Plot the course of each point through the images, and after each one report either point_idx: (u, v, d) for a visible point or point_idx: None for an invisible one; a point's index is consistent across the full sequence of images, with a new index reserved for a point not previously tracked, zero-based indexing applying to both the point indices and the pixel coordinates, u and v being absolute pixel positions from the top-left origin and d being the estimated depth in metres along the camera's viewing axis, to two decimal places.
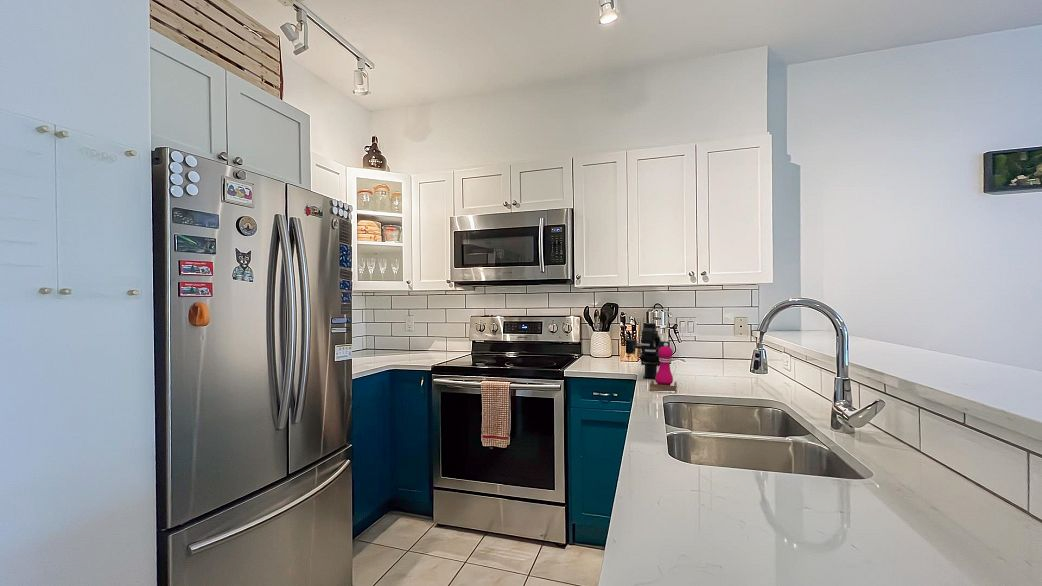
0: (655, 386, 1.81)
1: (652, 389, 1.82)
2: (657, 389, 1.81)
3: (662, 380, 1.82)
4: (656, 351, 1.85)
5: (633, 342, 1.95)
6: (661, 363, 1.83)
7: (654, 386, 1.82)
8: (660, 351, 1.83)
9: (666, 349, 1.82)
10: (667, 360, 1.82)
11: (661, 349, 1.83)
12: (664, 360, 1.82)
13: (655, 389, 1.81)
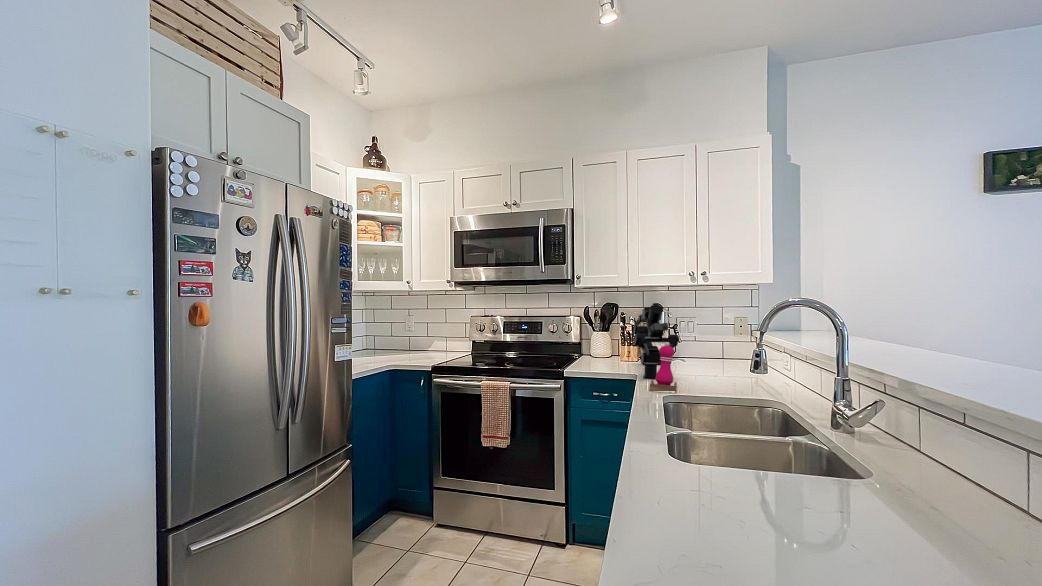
0: (655, 386, 1.81)
1: (652, 389, 1.82)
2: (657, 389, 1.81)
3: (663, 379, 1.82)
4: None
5: (644, 340, 1.96)
6: (662, 362, 1.85)
7: (654, 386, 1.82)
8: (661, 350, 1.84)
9: (667, 348, 1.83)
10: (668, 359, 1.83)
11: (662, 348, 1.85)
12: (665, 359, 1.83)
13: (655, 389, 1.81)
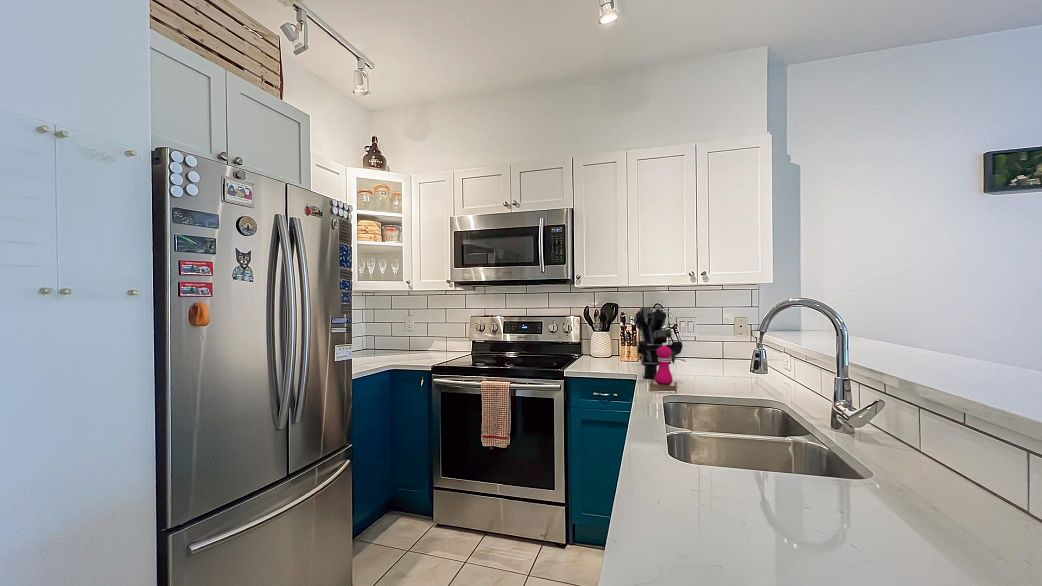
0: (655, 386, 1.81)
1: (652, 389, 1.82)
2: (657, 389, 1.81)
3: (662, 380, 1.82)
4: (673, 363, 1.87)
5: (647, 348, 1.90)
6: (660, 363, 1.84)
7: (654, 386, 1.82)
8: (659, 351, 1.84)
9: (664, 349, 1.83)
10: (666, 360, 1.83)
11: (659, 349, 1.84)
12: (663, 360, 1.83)
13: (655, 389, 1.81)
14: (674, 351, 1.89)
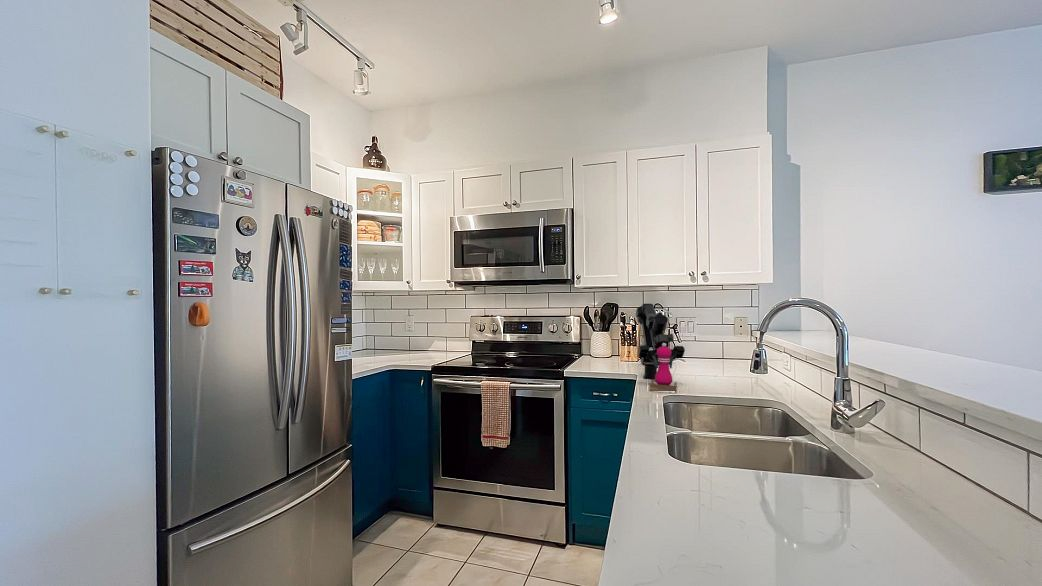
0: (655, 386, 1.81)
1: (652, 389, 1.82)
2: (657, 389, 1.81)
3: (662, 380, 1.82)
4: None
5: (653, 352, 1.87)
6: (660, 363, 1.84)
7: (654, 386, 1.82)
8: (658, 351, 1.84)
9: (664, 349, 1.83)
10: (666, 360, 1.83)
11: (659, 349, 1.84)
12: (663, 360, 1.83)
13: (655, 389, 1.81)
14: (671, 356, 1.86)
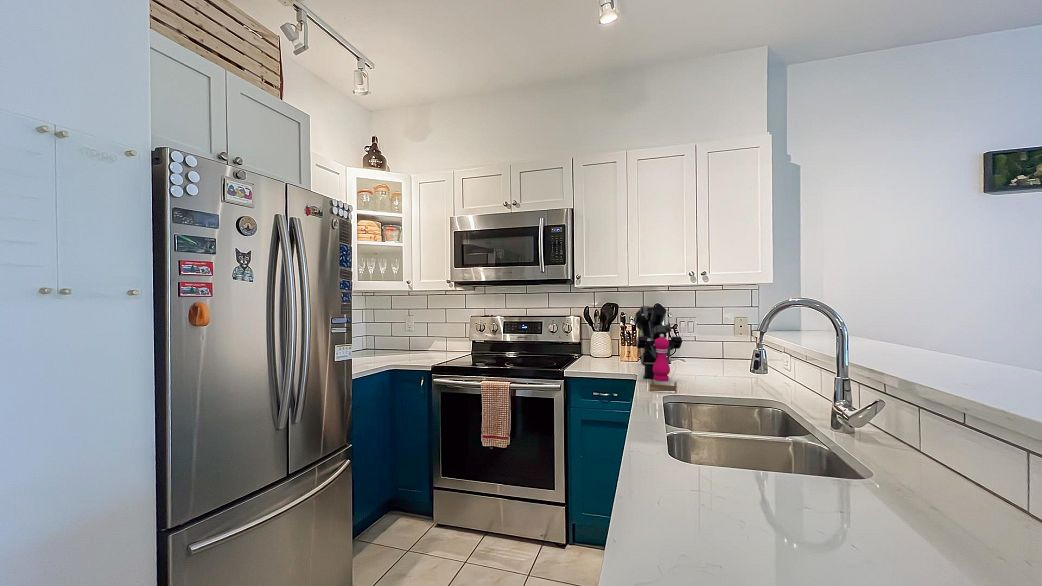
0: (655, 386, 1.81)
1: (652, 389, 1.82)
2: (657, 389, 1.81)
3: (660, 371, 1.86)
4: (668, 358, 1.88)
5: (651, 343, 1.90)
6: (658, 354, 1.88)
7: (654, 386, 1.82)
8: (656, 342, 1.87)
9: (662, 340, 1.86)
10: (663, 351, 1.86)
11: (657, 340, 1.87)
12: (660, 351, 1.87)
13: (655, 389, 1.81)
14: (669, 346, 1.90)
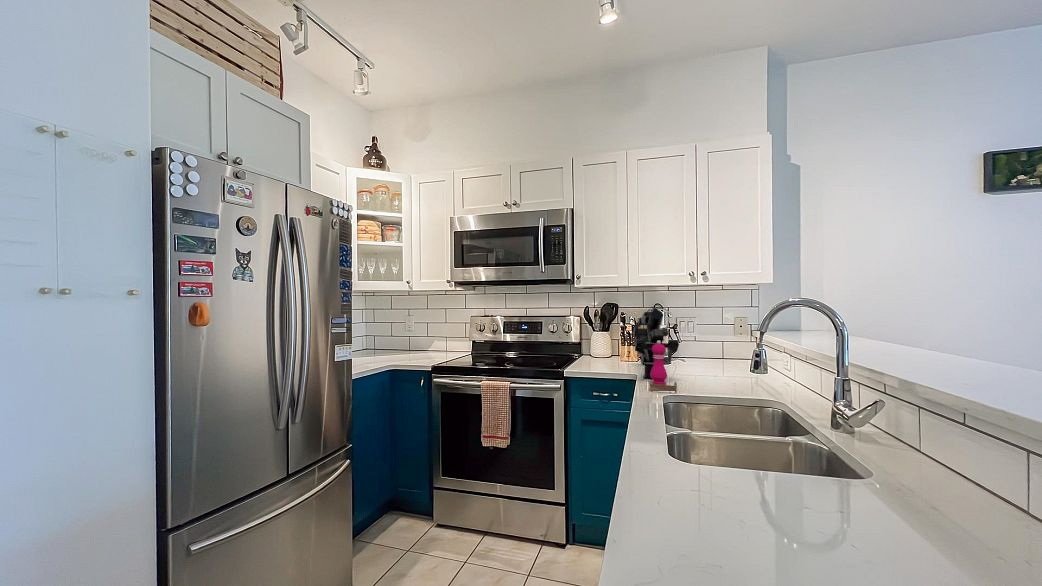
0: (655, 386, 1.81)
1: (652, 389, 1.82)
2: (657, 389, 1.81)
3: (657, 376, 1.91)
4: None
5: (645, 346, 1.96)
6: (655, 360, 1.93)
7: (654, 386, 1.82)
8: (653, 348, 1.93)
9: (659, 346, 1.92)
10: (660, 356, 1.92)
11: (654, 346, 1.93)
12: (658, 356, 1.92)
13: (655, 389, 1.81)
14: (671, 349, 1.95)
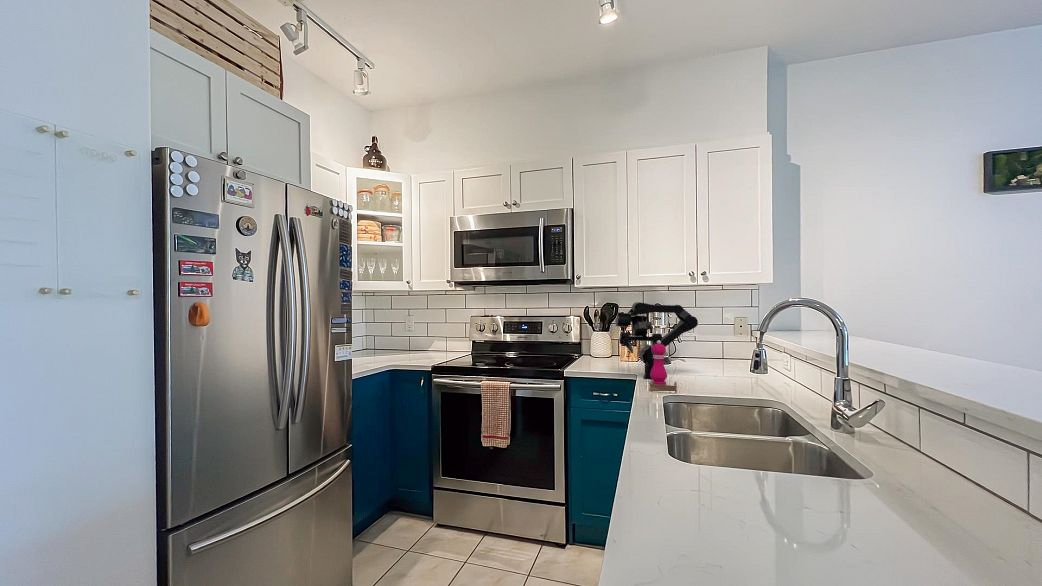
0: (655, 386, 1.81)
1: (652, 389, 1.82)
2: (657, 389, 1.81)
3: (657, 376, 1.91)
4: None
5: (629, 339, 2.00)
6: (655, 360, 1.93)
7: (654, 386, 1.82)
8: (653, 348, 1.93)
9: (659, 346, 1.92)
10: (660, 356, 1.92)
11: (654, 346, 1.93)
12: (658, 357, 1.92)
13: (655, 389, 1.81)
14: (654, 342, 2.00)
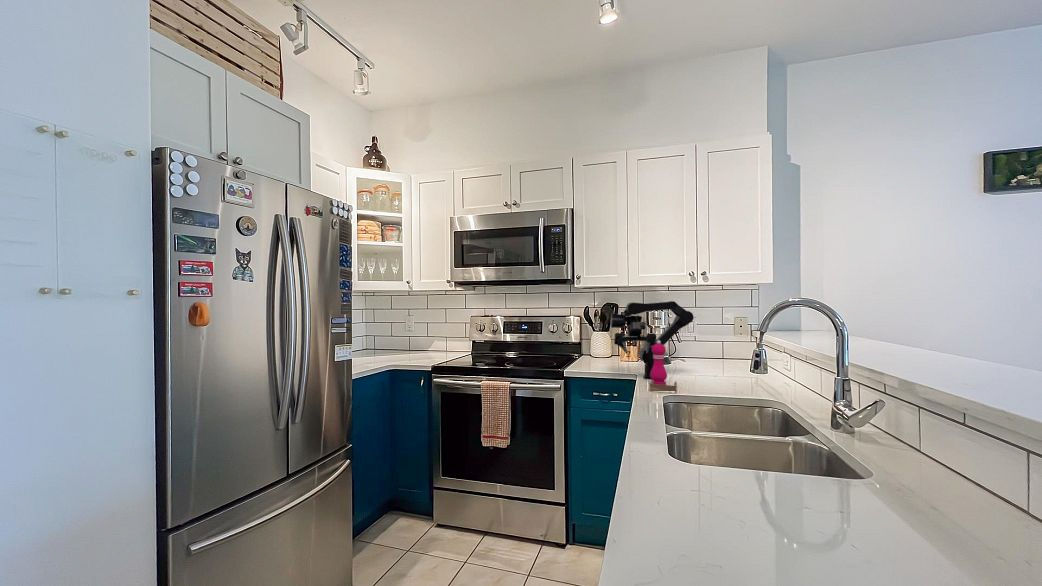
0: (655, 386, 1.81)
1: (652, 389, 1.82)
2: (657, 389, 1.81)
3: (657, 376, 1.91)
4: (647, 354, 1.98)
5: (623, 339, 2.01)
6: (655, 360, 1.93)
7: (654, 386, 1.82)
8: (653, 348, 1.93)
9: (659, 346, 1.92)
10: (660, 356, 1.92)
11: (654, 346, 1.93)
12: (657, 357, 1.92)
13: (655, 389, 1.81)
14: (648, 342, 2.00)
